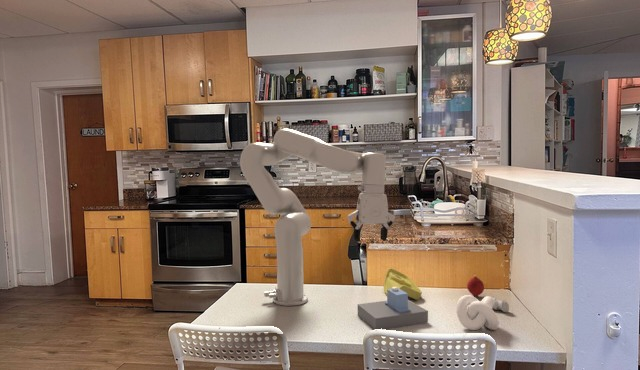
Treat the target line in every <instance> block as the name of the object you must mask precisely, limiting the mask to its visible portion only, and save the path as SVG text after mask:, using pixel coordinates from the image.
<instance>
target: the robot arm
mask: <svg viewBox="0 0 640 370" xmlns="http://www.w3.org/2000/svg"><path fill="white" fill-rule="evenodd" d="M293 156H294V157H297V158H300V159H302V160H305V161H308V162H309V163H310V162H311V163H313V164H316V165H318V166H320V167H321V166H322V167H324V168H326V169H330V170H331V171H332V170H333V171H334V172H338V173H342V174H345V175H349V174H350V175H353V174H362V175H361V184H360V185H359V186H357V190H358V191H360V193H359V195H358V197H357V198H358V199H357V204H356V209H355V211H353V212H351V213H349V214H347V216H346V218H347V221H348V223H349V225H350V226H351V227H352V229H353V239H354V241H356V242H360V241H361V229H360V228H361V227H362V225H381V227H380V240H381V241H384V242H386V241H387V238H388V230H389V229H390V228H391V226H392V225H393V222H394V220H395V219H396V215H394V214H392V213H391V212H389V207H388V206H389V205H388V197H387V194H386V193H385V181H386V180H385V178H386V164H387V163H386V162H387V161H386V160H387V159H386V158H387V156H386V155H385V154H384V153H381V152H366V153H365V152H364V153H363V152H357V151H353V150H347V149H344V148H340V147H337V146H334V145H331V144H328V143H326V142H325V141H323V140H322V139H320V138H318V137H315V136H311V135H308V134H306V133H302V132H300V131H298V130H294V129H291V128H281V129H279V130H277V131H276V132H275V134H274V136H273V141H272V142H270V143H268V142H267V143H266V142H258V141H257V142H251V143H249V144H247V145H246V146H245V147H244V149H243V150H242V151H241V155H240V159H239V165H240V170H241V172H242V175H243V177H244V178H245V180H246V181H247V183H248V185H249V186H250V187H251V189H252V191H253V192H254V194H255V196H256V198H257V199H258V201H259V202H260V204H261V206H262V207H263V209H264V211H265V212H266V213H268V215H274V216H276V215H280V216H279V218H278V219H277V220H276V221H275V224H274V236H275V244H276V275H277V276H276V284H277V286H275V288H274V289H273V290H270V291H269V290H267V291H266V290H265V291H264V292H263V293H264V294H263V295H264V297H265V298H267V297H268V298H269V299H272V302H273V303H274V304H276V305H279V306H282V307H283V306H286V307H290V306H291V307H292V306H293V307H294V306H300V305H303V304H305V303H307V302H308V300H309V299H308V298H309V296H308V295H307V294H306V293H304V248H303V242H302V237H303V236H305V235H307V234H308V233H309V232H310V230H311V227H312V220H311V218H310V215H309V214H308V212H307V210H306V208H305V207H304V206H303V205H302V203H301V200H299V198H298V196H297V195H296V193H294V192H293V191H292V190H291V189H290V188H287V187H279V185H278V184H277V183H276V181H275V179H274V177H273V176H272V175H271V173H270V172H269V171H268V169H266V166H267V167H268V166H269V167H270V166H274V165H277V164H279V163H281V162H283V161H285V160H287V159H290V157H293ZM354 218H355V221H354Z"/></svg>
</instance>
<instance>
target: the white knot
mask: <svg viewBox="0 0 640 370" xmlns="http://www.w3.org/2000/svg"><path fill="white" fill-rule="evenodd" d="M493 304H494V300H493V299H492V298H491V296H490V295H487V296H485V297H483V298H482V299H481V300H479V299H478V298H476V297H474V296H473V295H472V294H465V295H462V296H461V297H459V299H458V301H457V303H456V309H455V310H456V314H457V317H458V320H459V323H460V324H461V325H462V326H463V327H464V328H465V329H467V330H469V329H470V330H469V331H477V330H480V329H482V327H485V328H487V329H488V330H490V331H491V330H493V331H494V330H497V329H498V328H499V325H500V321H499V318H498V315H497V314H496V312H495V311H494V309H492V307H493Z"/></svg>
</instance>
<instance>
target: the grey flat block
mask: <svg viewBox="0 0 640 370" xmlns="http://www.w3.org/2000/svg"><path fill="white" fill-rule="evenodd" d="M385 302H387V300H382V301H374V302H373V301H372V302H365V303H359V304H357V316H358V317H359V318H360V319H362V320H363V321H364V322H365V323H366V324H367V325H369V326H370V327H371V329H374V330H375V329H381V328H382V330H388V329H393V328H395V329H396V328H402V327H407V326H406V325H408V326H414V325H413V324H415V325H420V324H419V323H421V324H426V323H425V322H429V311H428V310H426V308H423V307H422V306H420V305H418V304H416V303H415V302H413V301H411V300H409V299H408V308H409V309H410V310H411V311H407V312H400V313H399V312H398V311H397V312H396V311H394V310H393V309H391V308H390V307H388V306H387V304H385ZM401 326H402V327H401Z"/></svg>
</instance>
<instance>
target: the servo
mask: <svg viewBox="0 0 640 370" xmlns="http://www.w3.org/2000/svg"><path fill="white" fill-rule="evenodd" d="M386 296H387V297H386V301H387V302H385V304H387V306H388V307H390V308H391V309H393V310H394V311H396V312H397V311H398V312H399V313H400V312H407V311H411V310H410V309H409V308H408V300H409V297H408V293H406V292H404V291H402V290H400V289H399V288H398V287H392V289H387V295H386Z"/></svg>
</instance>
